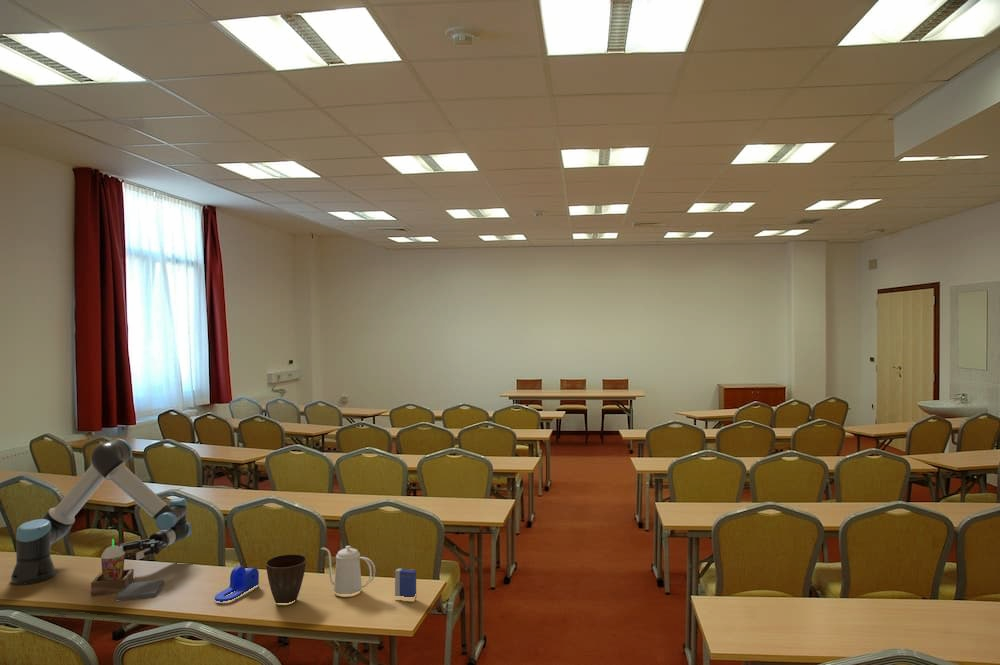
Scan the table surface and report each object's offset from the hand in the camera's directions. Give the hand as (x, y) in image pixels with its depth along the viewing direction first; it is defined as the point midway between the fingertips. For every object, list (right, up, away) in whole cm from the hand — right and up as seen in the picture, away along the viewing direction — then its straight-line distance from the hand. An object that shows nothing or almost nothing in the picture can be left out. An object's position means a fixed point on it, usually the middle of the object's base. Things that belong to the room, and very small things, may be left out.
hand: (123, 555), depth 256 cm
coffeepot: (+96, -12, -9) cm, 97 cm away
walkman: (+121, -12, -17) cm, 123 cm away
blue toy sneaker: (+52, -12, -11) cm, 54 cm away
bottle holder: (-2, -12, -4) cm, 13 cm away
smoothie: (-2, -12, -4) cm, 13 cm away
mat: (+12, -12, -8) cm, 19 cm away
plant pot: (+75, -12, -18) cm, 78 cm away
